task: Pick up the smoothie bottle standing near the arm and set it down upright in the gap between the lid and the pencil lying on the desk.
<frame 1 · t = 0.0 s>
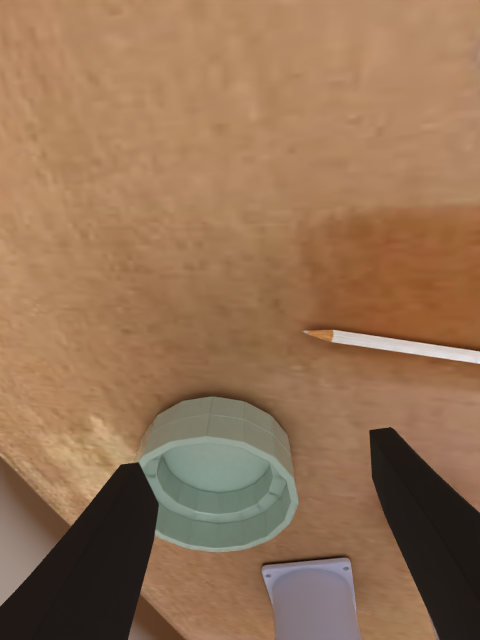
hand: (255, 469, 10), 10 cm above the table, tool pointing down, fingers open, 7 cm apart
pencil: (450, 349, 20), on the table
lid: (217, 450, 24), on the table
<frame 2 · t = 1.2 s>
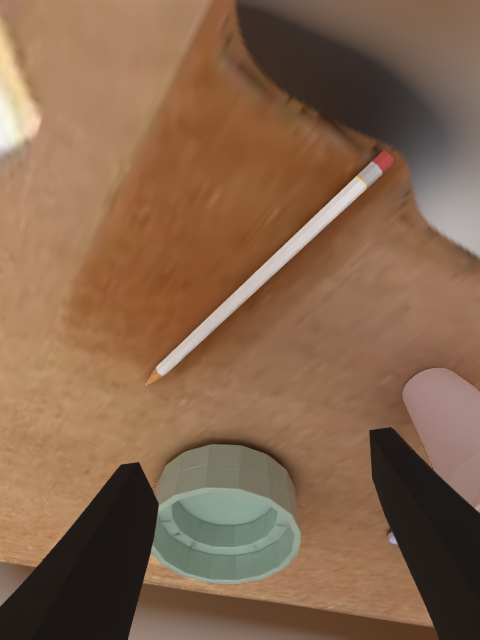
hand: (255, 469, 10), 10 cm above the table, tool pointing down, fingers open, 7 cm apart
pencil: (245, 287, 18), on the table
lid: (226, 488, 26), on the table
smoothie: (429, 389, 21), on the table
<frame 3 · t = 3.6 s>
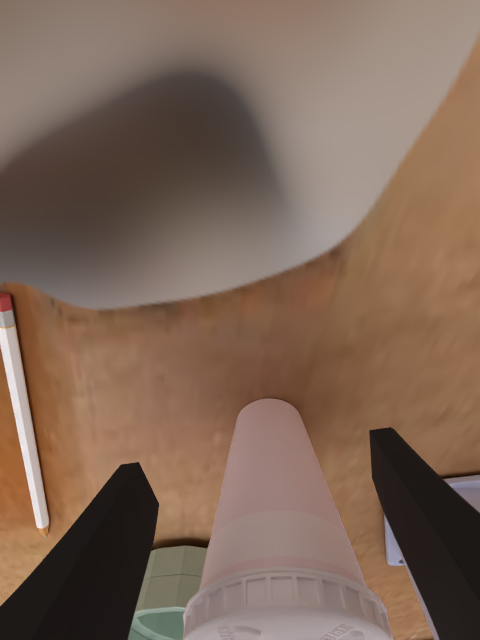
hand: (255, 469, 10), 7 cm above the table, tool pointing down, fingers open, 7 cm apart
pencil: (34, 435, 19), on the table
lid: (193, 579, 25), on the table
smoothie: (268, 422, 18), on the table
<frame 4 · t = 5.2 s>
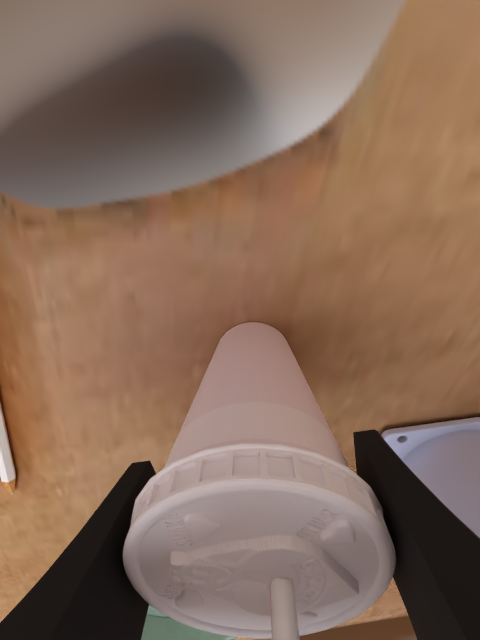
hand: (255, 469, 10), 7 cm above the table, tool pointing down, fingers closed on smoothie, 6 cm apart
lid: (176, 544, 23), on the table
smoothie: (252, 353, 16), on the table, touching gripper
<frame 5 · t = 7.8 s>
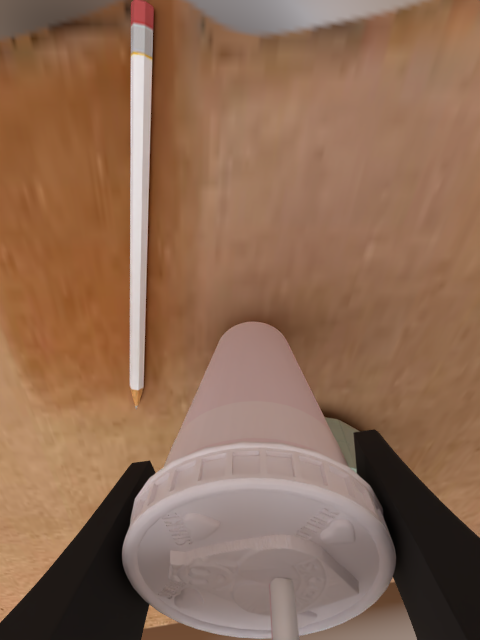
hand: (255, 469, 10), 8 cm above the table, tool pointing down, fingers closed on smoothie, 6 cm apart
pencil: (141, 256, 16), on the table
lid: (297, 470, 22), on the table
smoothie: (252, 352, 16), point 1 cm above the table, touching gripper
when the fingers open (7 cm above the table, at t = 8.9 s): smoothie stays where it is, on the table.
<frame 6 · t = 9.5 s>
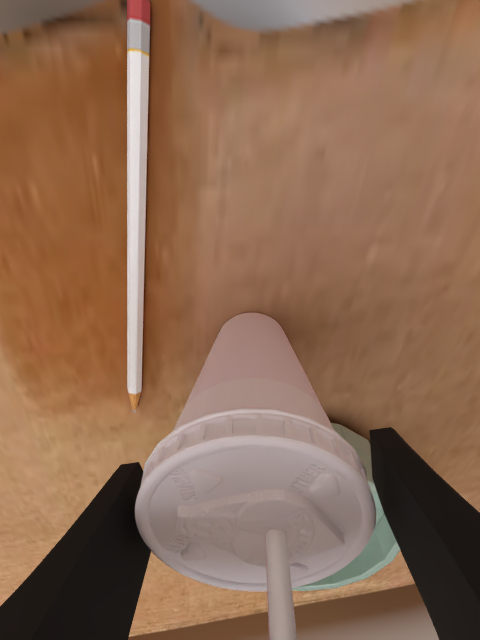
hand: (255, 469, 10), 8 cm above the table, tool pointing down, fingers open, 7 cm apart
pencil: (139, 258, 16), on the table
lid: (297, 475, 21), on the table
smoothie: (251, 342, 17), on the table
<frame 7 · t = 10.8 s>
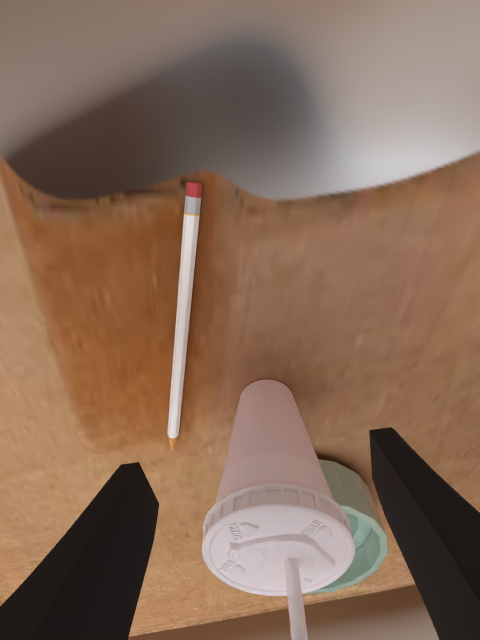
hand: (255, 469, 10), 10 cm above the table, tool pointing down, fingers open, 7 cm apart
pencil: (182, 339, 20), on the table
lid: (301, 499, 26), on the table
smoothie: (266, 399, 22), on the table
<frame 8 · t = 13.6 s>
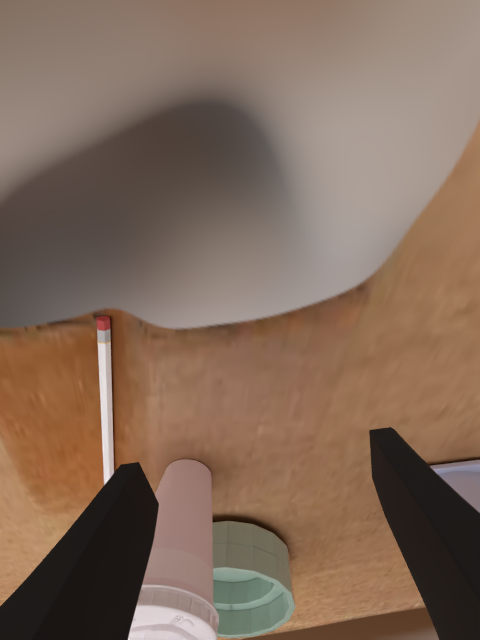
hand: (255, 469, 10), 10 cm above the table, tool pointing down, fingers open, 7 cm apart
pencil: (110, 428, 24), on the table
lid: (230, 552, 29), on the table
smoothie: (188, 473, 25), on the table
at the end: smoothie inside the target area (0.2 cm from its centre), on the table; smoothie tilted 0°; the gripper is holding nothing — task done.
